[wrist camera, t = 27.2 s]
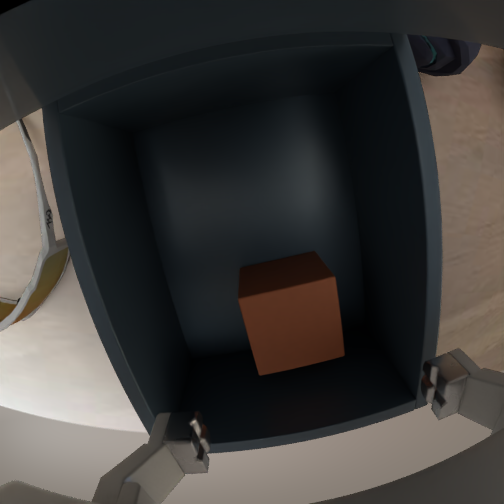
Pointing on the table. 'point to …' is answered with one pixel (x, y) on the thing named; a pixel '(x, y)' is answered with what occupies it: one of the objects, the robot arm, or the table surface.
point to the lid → (192, 34)
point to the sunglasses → (50, 257)
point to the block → (291, 312)
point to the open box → (255, 225)
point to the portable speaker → (442, 54)
